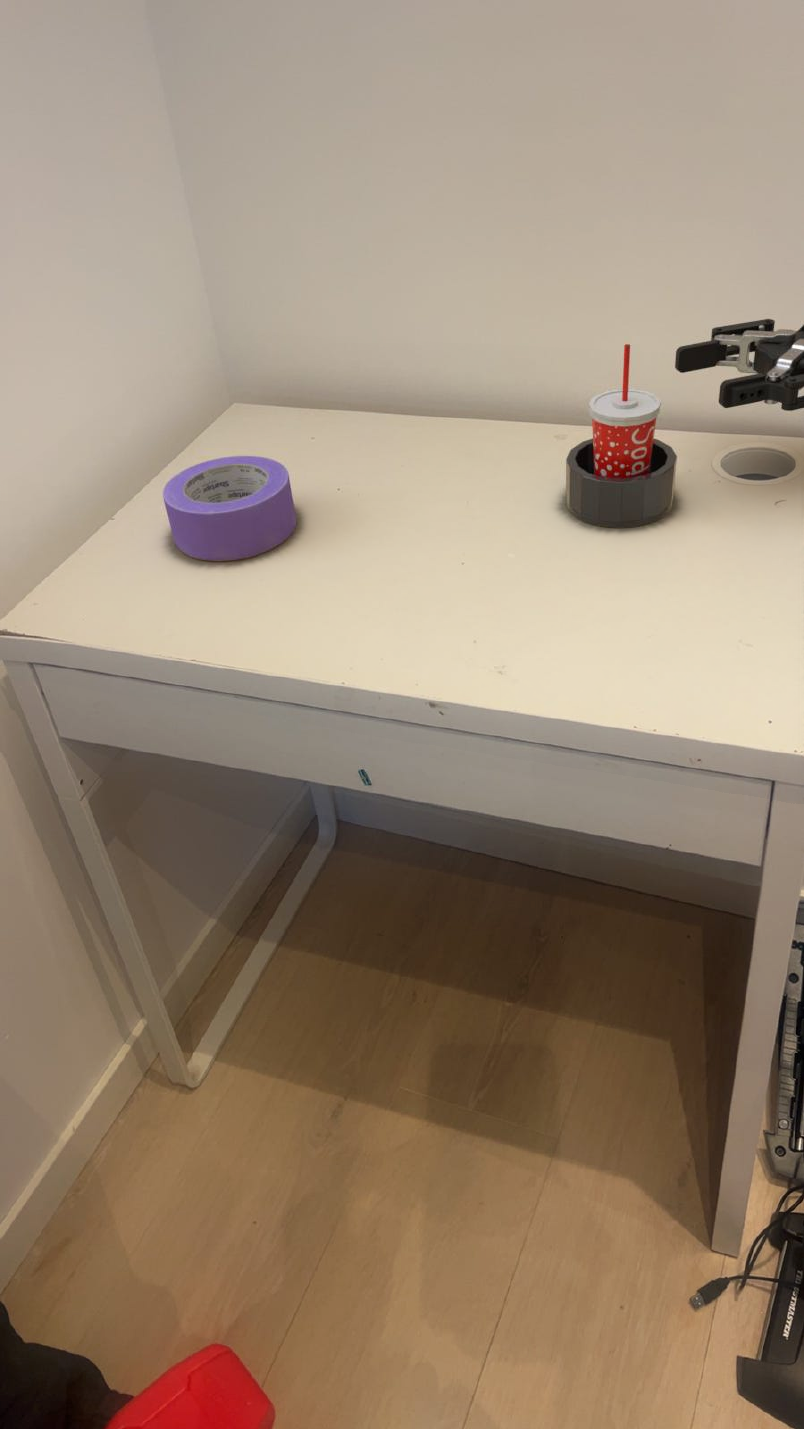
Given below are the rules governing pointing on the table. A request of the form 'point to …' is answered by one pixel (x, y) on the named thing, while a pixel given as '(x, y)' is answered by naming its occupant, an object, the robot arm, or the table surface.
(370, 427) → the table surface
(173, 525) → the tape roll
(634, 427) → the beverage cup
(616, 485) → the socket
